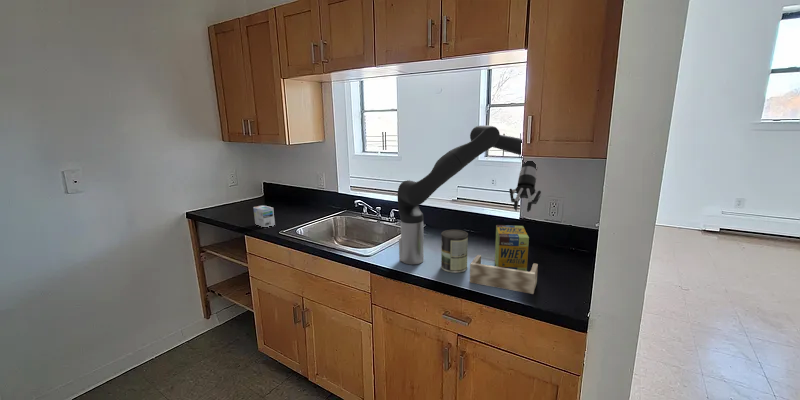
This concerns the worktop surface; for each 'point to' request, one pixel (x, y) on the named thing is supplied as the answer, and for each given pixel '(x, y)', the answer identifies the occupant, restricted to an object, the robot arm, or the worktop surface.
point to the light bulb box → (264, 216)
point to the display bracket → (503, 276)
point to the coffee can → (454, 250)
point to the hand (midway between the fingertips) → (521, 210)
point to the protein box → (511, 247)
